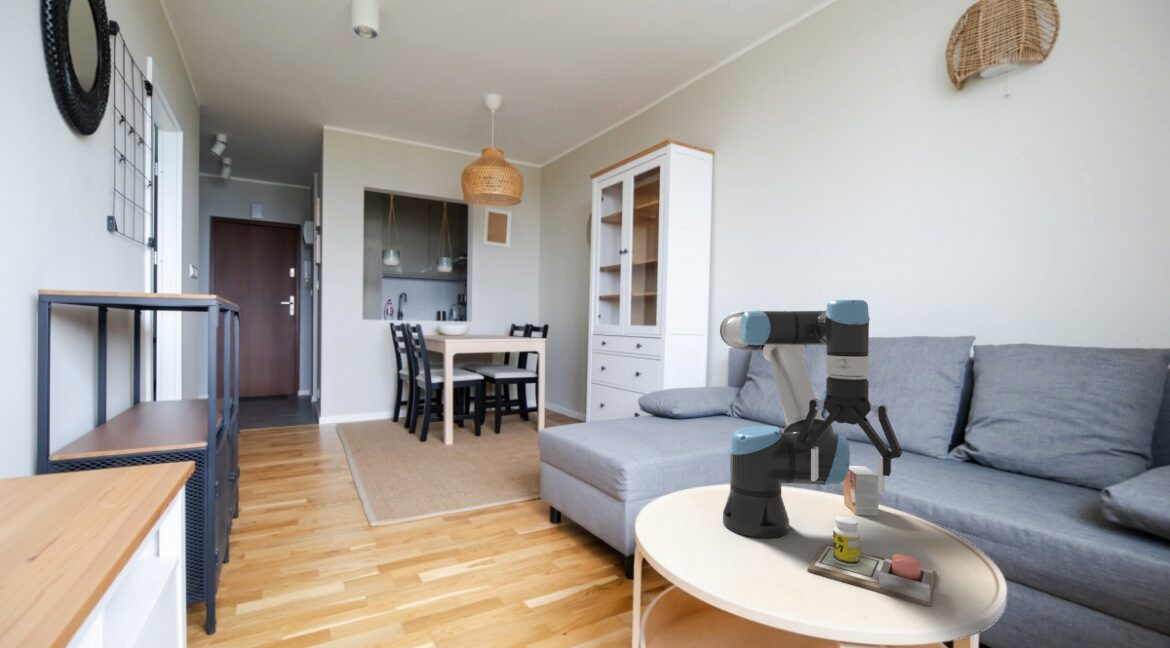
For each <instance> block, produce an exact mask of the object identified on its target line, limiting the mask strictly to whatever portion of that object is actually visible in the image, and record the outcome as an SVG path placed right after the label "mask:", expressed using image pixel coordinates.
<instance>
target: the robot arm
mask: <svg viewBox="0 0 1170 648" xmlns="http://www.w3.org/2000/svg"><path fill="white" fill-rule="evenodd" d="M869 313H870V312H869V304H868V302H867V301H865V300H864V299H863V300H862V299H836V300H834V299H833V300H830V301H828V302H827V304H826V310H799V311H798V310H789V311H788V310H751V311H742V312H736V313H732V314H729V315H728V316H727V317H725V318H724V319H723V321H721V324H720V327H719V335H720V337H721V339H722V341H723V342H724V343H725V344H726V345H728V346H730V347H731V348H733V349H738V350H742V351H755V352H756V351H760V352H762V355H763V357H764V358H765V360H766V361H768V362H770V366H771V368H772V369H771V370H772V373H773V377H774V382H775V385H776V388H777V389H776V390H777V392H778V393H777V394H778V398H779V400H780V404H781V409H782V412H783V415H784V419H785V423H786V426H785V427H784V429H783V430H781V428H779V427H778V426H774V425H752V426H745V427H742V428H739V429H737V430H735V431H734V432H733V433H732V434H731V437H730V444H729V445H730V447H729V453H730V457H729V458H730V461H729V462H730V465H729V466H730V468H729V470H730V472H729V473H730V475H729V476H730V478H729V479H730V484H729V485H730V488H729V489H730V491H729V494H728V497H727V499H726V502H725V505H724V508H723V511H722V523H723V525H724V526H725V527H726V528H727V529H728V530H730V531H732V532H733V533H737V534H739V535H743V536H747V537H753V538H758V539H759V538H761V539H771V538H772V539H773V538H780V537H783V536H785V535H787V534H788V533H789V532H790V519H789V515H788V512H787V508H786V506H785V503H784V500H783V497H782V484H791V485H793V484H795V485H822V486H826V485H840V484H842V483H843V482H844V480H845V478H846V477H847V474H848V471H849V466H851V464H850V463H851V449H850V445H849V441H848V439H847V437H846V436H845V435H844V434H841V433H835V432H834V429H833V426H832V424H833V423H834V422H836V423H838V424H848V425H858V426H859V427H860V428H861V430H862V431H863V432H864V433H865V435H866V436H867V438H868V439H869V440H870V441H871V443H872V444H873V446H874V447H875V449H876V450H877V451H878V453H879V454H880V456H879V457H878V459H877V475H878V493H879V494H880V495H881V494H882V495H883V494H884V492H885V490H886V489H885V487H886V486H885V485H886V482H885V481H886V480H885V479H886V477H889V476H890V475H891V473H892V459H899V458H901V456H902V455H903V449H902V448H901V446H900V443H899V440H898V438H897V435H896V433H895V431H894V430H893V429H894V428H893V426H892V425H891V422H890V419H889V417H888V406H887V405H886V404H881V405H875V404H871V403H870V401H869V390H870V389H869V388H870V386H869V380H868V379H867V376H869V374H870V373H869V368H870V367H869V364H870V363H869V358H870V357H869V342H870V341H869V338H870V335H869V334H870V328H869V327H870V315H869ZM808 346H826V374H827V375H829V376H828V377H827V378H826V391H825V392H826V393H825V394H826V397H825V400H819V399H817V397H816V394H815V392H814V388H813V385H812V382H811V379H810V375H809V373H808V371H807V370H808V369H807V366H806V364H805V360H804V358H803V354H804V353H805V349H807V347H808ZM823 407H824V408H825V410H826V411H827V412H828V416H827V417H826V418H825V419H823V416H822V412H821V410H822V408H823ZM870 412H873V414H874V416H875V417H876V418H878V421H879V423H880V427H881V428H882V431H883V433H884V435H885V439H886V440H887V442H888V443H887V444H888V445H889V447H890V449H889V448H888V446H887V445H886V444H885V442H884V441H883V440H882V438H881V436H879V434H878V432H876V430H875V428H874V427H873V426H872V425H871V422H870V420H869V419H868V418H867V415H868V414H869V413H870ZM885 476H886V477H885Z"/></svg>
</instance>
